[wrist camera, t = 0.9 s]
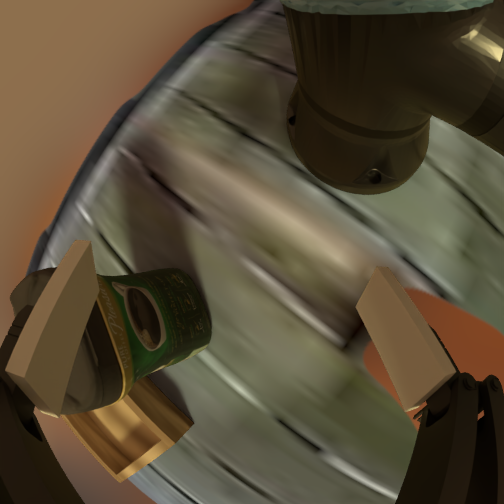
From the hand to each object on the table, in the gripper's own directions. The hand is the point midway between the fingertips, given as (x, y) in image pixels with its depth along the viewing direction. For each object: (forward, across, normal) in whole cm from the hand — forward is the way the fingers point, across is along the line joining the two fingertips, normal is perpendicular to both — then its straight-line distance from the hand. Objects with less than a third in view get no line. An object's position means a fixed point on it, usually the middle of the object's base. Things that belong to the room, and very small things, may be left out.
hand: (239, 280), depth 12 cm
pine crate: (+7, -13, -29) cm, 32 cm away
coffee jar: (+12, -4, -15) cm, 20 cm away
